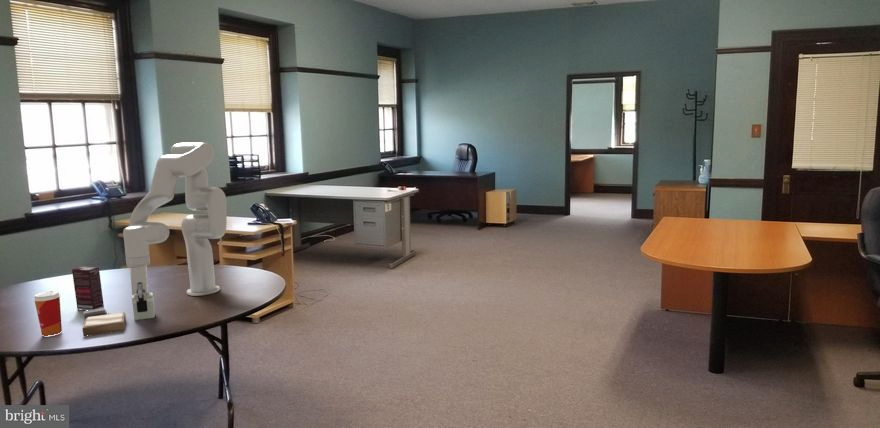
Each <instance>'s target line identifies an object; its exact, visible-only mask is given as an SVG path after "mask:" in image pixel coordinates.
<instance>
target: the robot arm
mask: <svg viewBox="0 0 880 428" xmlns="http://www.w3.org/2000/svg"><path fill="white" fill-rule="evenodd" d="M214 156H215V150H214V147H213V146H212V145H211V144H209V143H208V142H202V141H201V142H199V141H197V142H193V141H192V142H187V141H186V142H178V143H175V144H173V145H172V146H171V148H170V154H163V155H161V156H160V157H158V159H157V161H156V164H155V168H154V172H153V175H152V179H151V183H150V185H149V186H150V188H149V191H148V193H147V194H146V195H145V196H144V197H143V198H142V199H141V200H140V201H139V202H138V203H137V205H136V206H135V207H134V209H133V211H132V214H131V215H130V220H129V223H128V226H127V227H125V228H123V233H122V235H123V243H124V244H123V245H124V253H125V263H126V267H127V268H129V271H130V273H129V274H130V285H131V286H130V287H131V294H132V296H133V295H137V301H136V303H137V312H138V313H139V312H146V311H147V310H148V309H147V300H146V297H145V294H146V293H148V289H149V275H148V266H149V265H151V260H150V259H151V258H150V249H149V245H152V244H153V245H154V244H160V243H163V242H166V240H167V239H168V238H169V236H170V229H169V227H168V225H167V224H165V223H164V222H156V221H148V219H149V217H150V216H151V214H152V213H153V212H154V211H155V210H157V209H158V208H159V207H161V206H163V205H166V204H167V203H169V202H171V201H172V200H173V199H174V197H175V192H176V188H177V185H178V181H179V178H184V182H185V183H184V185H185V187H184V188H185V189H184V190H185V191H184V192H185V194H184V195H185V197H184V198H185V205H186V207H187V209H189V210H190V211H195V212H196V211H197V212H198V211H199V212H207V213H208V214H203V213H201V214H200V213H194V214H188V215H187V216H185V217H184V218H183V219H182V221H181V224H180V227H181V232H182V235H183V239H184V243H185V249H186V258H187V270H188V276H189V288H188V289H187V290H186V294H187V295H188V296H192V297H194V296H195V297H199V296H202V297H203V296H207V295H212V294H215V293H218V292H219V291H220V290H221V287H220V286H219V285H216V277H215V267H214V257H213V255H214V254H213V248H212V244H211V242H210V241H209V239H210V240H215V239H216V240H218V239H221V238H223V237H224V236H225V234H226V230H227V218H228V217H227V216H228V215H227V212H228V211H227V209H228V208H227V207H228V206H227V197H226V193H225V192H224V191H223V189H221V188H220V187H217V186H209V176H208V175H209V174H208V172H207V170H206V167H207V166H209V165H210V164H211V163H212V161H213V160H214V158H215V157H214Z"/></svg>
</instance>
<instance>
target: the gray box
mask: <svg viewBox="0 0 880 428" xmlns="http://www.w3.org/2000/svg"><path fill="white" fill-rule="evenodd" d="M82 311H83V310H82ZM107 314H108V313H107V310H106V309H105V307H104V308H99V309H94V310H88V311H83V314H82V315H83V321H85V320H86V318H87V317H93V316H100V315H107Z"/></svg>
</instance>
